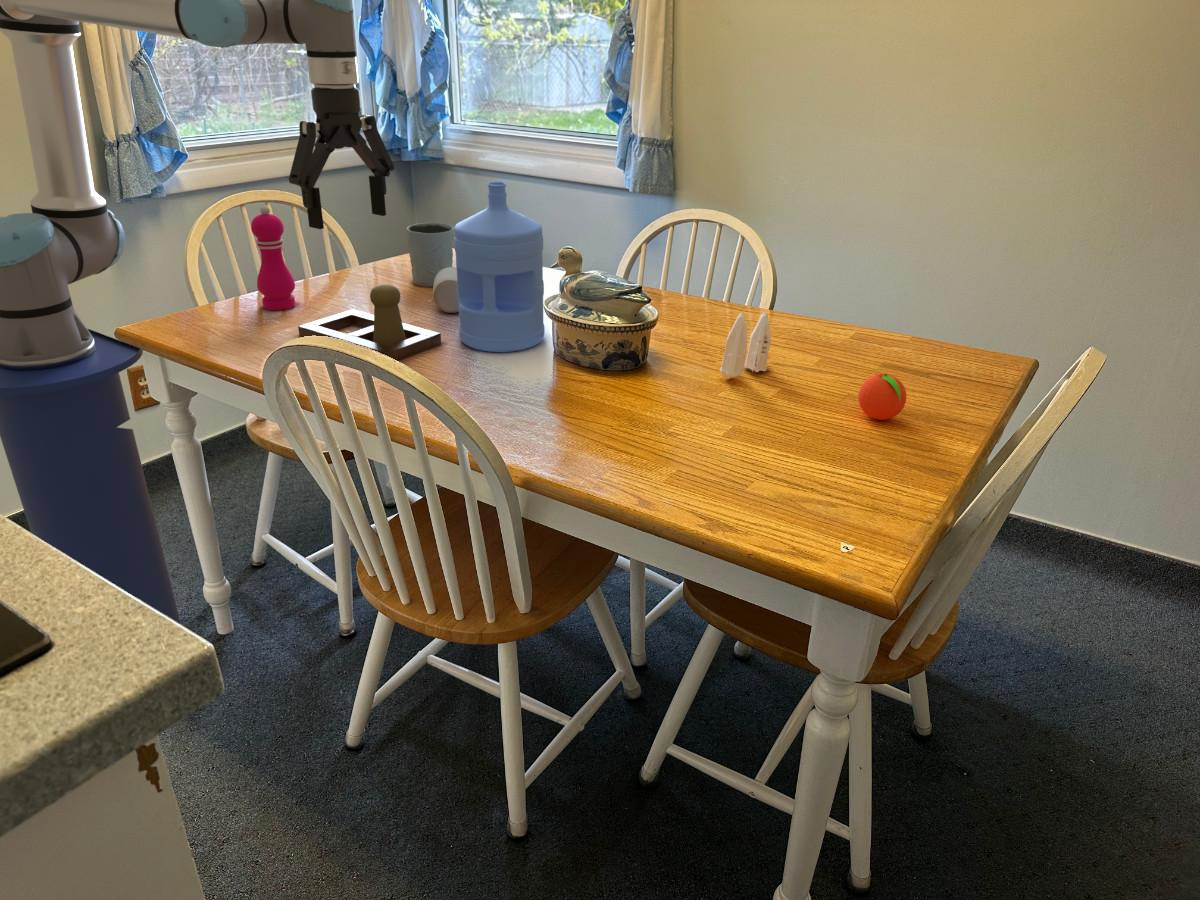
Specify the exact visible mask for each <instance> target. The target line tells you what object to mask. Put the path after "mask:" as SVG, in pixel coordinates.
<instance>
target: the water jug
mask: <svg viewBox="0 0 1200 900" xmlns="http://www.w3.org/2000/svg"><path fill="white" fill-rule="evenodd" d="M487 187H488V193H487V197H488V206H487V207H486V208H485V209H483V210H481V211H478V212H477V213H475V214H472V215H471V216H469V217H467V218H465V219H462V220H461V221H459V222H457V223H456V224H455V226H454V227H453V228H454V233H453V249H454V252H455V266H456V268H457V293H458V304H459V312H458V320H459V321H458V322H459V326H458V334H459V339H460V340H461V342H462V343H463V344H464V345H466V346H467V347H469V348H472V349H475V350H478V351H483V352H490V353H491V352H492V353H510V352H519V351H523V350H527V349H530V348H532V347H535V346H537V345H538V344H540V343H541V342H542V340H543V339H544V337H545V331H546V329H545V328H546V327H545V323H544V294H545V284H544V276H543V275H544V273H543V272H544V270H543V268H544V267H543V265H544V263H543V251H544V235H543V226H542V225H541V223H539V222H538V221H537V220H535V219H532V218H530V217H528V216H526V215H523V214H522V213H520V212H517V211H515V210H514V209H512V208H509V206H508V204H507V196H508V195H507V191H506V188H507V183H506V182H502V181H491V182H488V183H487Z"/></svg>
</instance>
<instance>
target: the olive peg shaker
mask: <svg viewBox="0 0 1200 900" xmlns="http://www.w3.org/2000/svg"><path fill="white" fill-rule="evenodd" d="M401 297H402V296H401V292H400V290H399V288H398V287H397V286H395V285H391V284H381V285H376V286H374V287H373V288H371V290H370V294H369V300H370V302H371V303H372V305H373V306H374V307H373V308H374V309H373V315H374V332H373V342H375V343H379V344H382V345H385V346H390V345H393V344H395V343H398V342H401V341H404V340H406V337H405V333H404V329H403V324H402V323H403V320H402V317H401V311H400V307H399V304H400V302H401Z"/></svg>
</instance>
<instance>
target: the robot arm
mask: <svg viewBox="0 0 1200 900" xmlns="http://www.w3.org/2000/svg"><path fill="white" fill-rule="evenodd" d="M80 23H86V24H91V25H92V24H93V25H99V26H104V27H110V28H117V29H121V30H123V29H124V30H128V31H129V30H130V31H136V32H142V33H147V34H148V33H149V34H154V35H159V36H160V35H161V36H166V37H167V36H168V37H173V38H178V39H186V40H191V41H195V42H198V43H199V44H201V45H204V46H207V47H213V48H222V49H223V48H224V49H225V48H230V47H233V46H247V45H264V44H284V45H285V44H287V45H288V44H293V45H295V44H296V45H304V46H305V50H306V51H305V52H306V61H307V69H308V80H309V83H310V84H311V85H313V87H312V88H311V89H310V95H311V103H312V110H313V112H314V114H315V117H316V118H315V122H314V121H307V120H300V122H299V124H298V128H299V137H298V141H297V145H296V149H295V151H294V152H295V153H294V157H293V160H292V164H291V168H290V173H289V176H288V182H289V184H291V185H295V186H298V187H299V188H300V190H301V191H300V192H301V198H302V205H303V207H304V208H306V212H307V219H308V227H309V228H313V229H317V230H323V229H325V227H324V226H325V225H324V219H323V209H322V201H321V192H320V191H321V190H320V187H317V186H316V184H317V182H318V180H319V178H320V175H321V173H322V171H323V169H324V167H325V166H326V164H327V162H328V159H329V158H330V155H331V154H332V153H334V151H335V149H336V150H340V149H343V148H352V149H353V150H354V152H355V153H356V154H357V156H358V157H359V158H360V160H361V161H362V162H363V163H364V165H366V167H367V168H368V169H369V171H370V172H371V173H372V175H371V174H370V175H368V181H369V182H368V183H369V184H368V185H369V193H370V202H371V203H370V204H371V205H370V207H371V214H372V215H374V216H375V215H376V216H381V217H385V216H387V211H386V210H387V208H386V198H385V195H387V181H386V180H387V179H386V177H390V175H391V172H393V171H394V170H395V164H394V163H393V160H392V158H391V156H390V154H389V151H388V149H387V147H386V144H385V142H384V140H383V138H382V136H381V134H380V132H379V130H378V126H377V125H378V124H377V119H376V117H375V116H374V115H367V114H361V115H360V112H361V111H362V101H361V99H362V98H361V92H360V91H361V90H360V89H359V87H356V85H358V84H359V82H360V81H359V80H360V79H359V69H358V58H357V50H356V49H357V48H356V36H355V23H354V8H353V2H352V0H0V33H1V34H3V35H4V37H6V38H7V39H8V40H9V41H10V45H11V51H12V55H13V60H14V66H15V71H16V77H17V81H18V87H19V93H20V98H21V99H20V100H21V104H22V111H23V115H24V120H25V125H26V131H27V136H28V141H29V148H30V153H31V157H32V164H33V169H34V174H35V179H36V185H37V192H36V194H34V196H33V197H32V198H31V199H30V201H29V203H30V208H31V212H24V213H23V212H21V213H12V214H8V215H7V216H0V368H3V369H7V370H14V371H34V370H44V369H51V368H56V367H61V366H65V365H69V364H72V363H75V362H78V361H81V360H83V359H85V358H87V357H89V356H90V355H92V354H93V353H94V352H95V350H96V346H95V342H94V339H93V337H92V335H91V334H90V332H89V331H88V329H89V328H88V327H87V326H86V324H85V323H84V322H83V320H82V319H81V317H80V316H79V314H78V312H77V311H76V310H75V307H74V305H73V301H72V297H71V293H70V290H69V285H72V284H73V283H75V282H78V281H81V280H84V279H86V278H88V277H91V276H94V275H98V274H101V273H103V272H105V271H106V270H107V269H109V268H111V267H112V266H114V265H115V264H117V262H118V261H119V260H120V259H121V257H123V254H124V251H125V246H126V235H125V230H124V228H123V226H122V223H121V222H120V220H119V219H117V218H115V217H116V216H115V214H114V213H113V212H112V211H111V210H110V209H108V206H107V201H106V199H105V198H104V197H103V196H101V195H100V194H98V193H97V192H96V190H95V185H94V184H95V183H94V178H93V171H92V166H91V158H90V152H89V146H88V140H87V133H86V127H85V120H84V113H83V108H82V107H83V106H82V101H81V95H80V88H79V82H78V80H79V79H78V76H77V75H78V74H77V69H76V68H77V67H76V62H75V56H74V49H73V45H74V43H75V42H76V41H77V40H78V39H79V37H80V36H81V35H82V33H81V27H80ZM361 130H362V133H363V135H364V136H363V135H362V134H361V133H360V132H361ZM317 136H318V137H317ZM316 138H317V139H316Z"/></svg>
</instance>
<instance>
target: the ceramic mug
mask: <svg viewBox="0 0 1200 900" xmlns="http://www.w3.org/2000/svg"><path fill="white" fill-rule="evenodd" d="M432 298H433V301H434V304H435V305H436V306H437V308H438V309H439V310H441V311H442V312H445V313H446V314H456V313H459V304H458V293H457V267H455V266H452V267H447V268H444V269H442V270H441V271H439V272H438V274H437V275H436V277H435V279H434V286H433V287H432Z"/></svg>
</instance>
